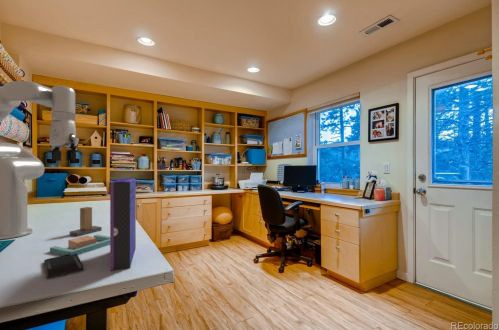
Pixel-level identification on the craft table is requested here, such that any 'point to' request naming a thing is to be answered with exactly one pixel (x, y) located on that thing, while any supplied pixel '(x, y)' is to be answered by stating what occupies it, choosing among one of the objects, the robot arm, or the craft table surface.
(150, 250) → the craft table surface
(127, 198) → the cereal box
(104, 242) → the frame
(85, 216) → the pusher
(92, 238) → the tile
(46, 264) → the phone
